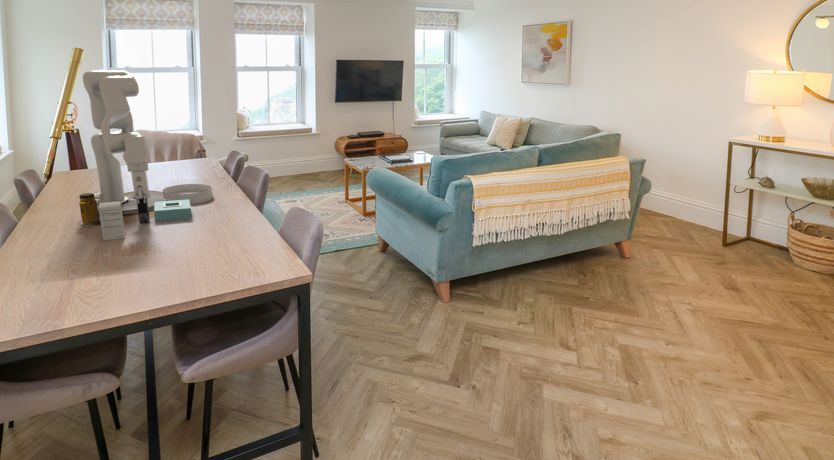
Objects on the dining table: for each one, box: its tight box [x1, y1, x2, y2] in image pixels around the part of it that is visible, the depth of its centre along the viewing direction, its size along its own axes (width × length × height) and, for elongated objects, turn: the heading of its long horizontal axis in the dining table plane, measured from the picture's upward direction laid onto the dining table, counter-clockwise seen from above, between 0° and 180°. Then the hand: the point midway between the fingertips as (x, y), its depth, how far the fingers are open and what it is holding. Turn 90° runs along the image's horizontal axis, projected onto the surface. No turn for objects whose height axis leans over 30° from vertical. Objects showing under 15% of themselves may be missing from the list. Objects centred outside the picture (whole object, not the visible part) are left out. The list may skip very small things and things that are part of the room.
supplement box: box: [98, 202, 126, 241], centre depth 219 cm, size 7×7×13 cm
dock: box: [153, 199, 193, 222], centre depth 250 cm, size 14×16×5 cm
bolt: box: [131, 192, 151, 225], centre depth 238 cm, size 6×6×12 cm
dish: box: [162, 183, 214, 205], centre depth 278 cm, size 22×22×5 cm
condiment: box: [78, 192, 101, 227], centre depth 236 cm, size 7×8×12 cm
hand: (143, 211), depth 238 cm, fingers closed on bolt, 4 cm apart
